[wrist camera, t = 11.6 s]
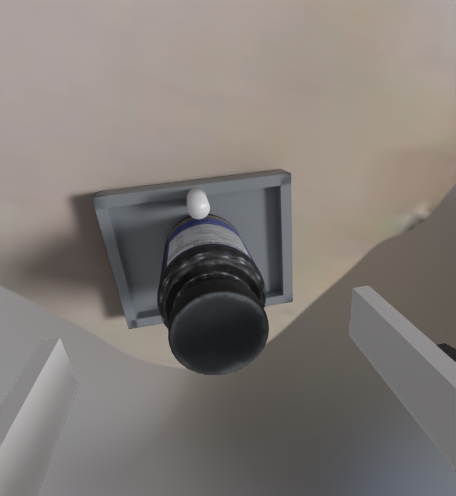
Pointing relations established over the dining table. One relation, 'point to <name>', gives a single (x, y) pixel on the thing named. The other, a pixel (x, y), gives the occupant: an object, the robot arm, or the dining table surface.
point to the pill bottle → (211, 297)
